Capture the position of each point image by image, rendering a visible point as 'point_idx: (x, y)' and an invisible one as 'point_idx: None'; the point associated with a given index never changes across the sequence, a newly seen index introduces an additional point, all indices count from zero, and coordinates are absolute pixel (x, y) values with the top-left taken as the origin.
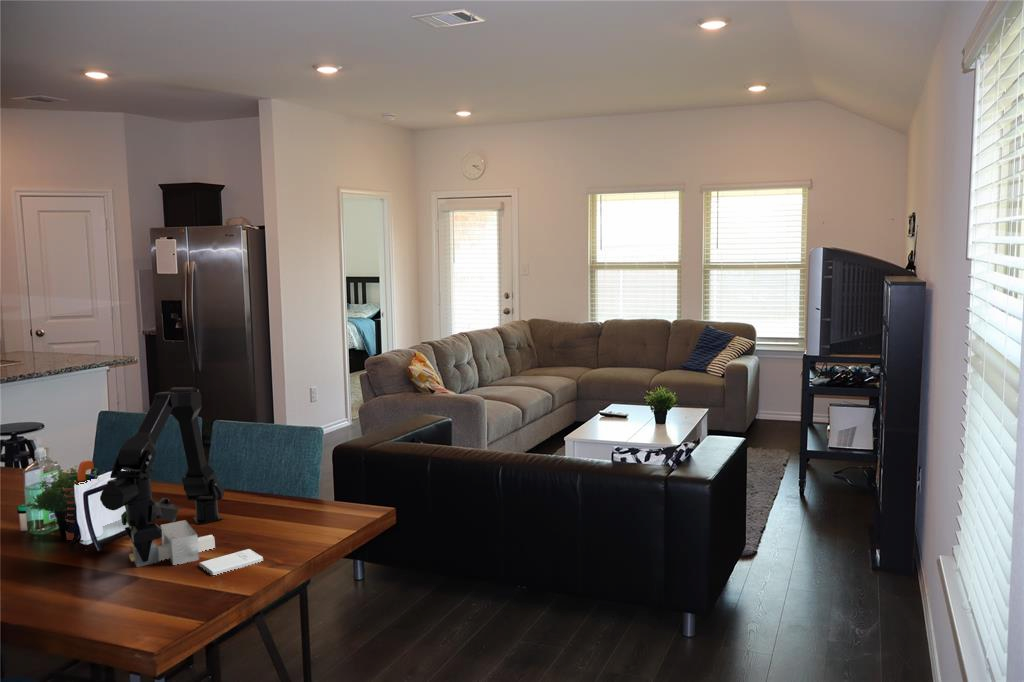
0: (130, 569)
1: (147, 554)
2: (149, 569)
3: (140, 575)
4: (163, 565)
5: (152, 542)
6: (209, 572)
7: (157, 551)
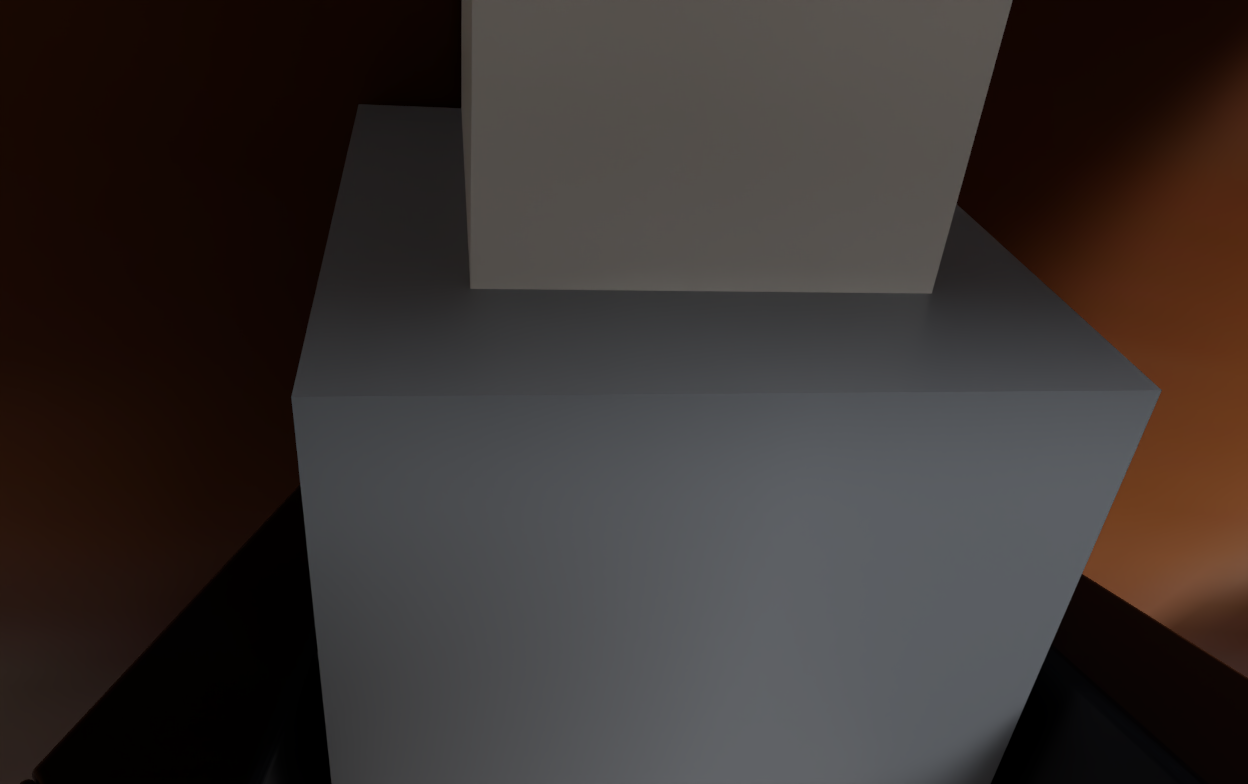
0: None
1: None
2: None
3: (1224, 568)
4: (1171, 71)
5: (341, 493)
6: None
7: (1027, 300)
